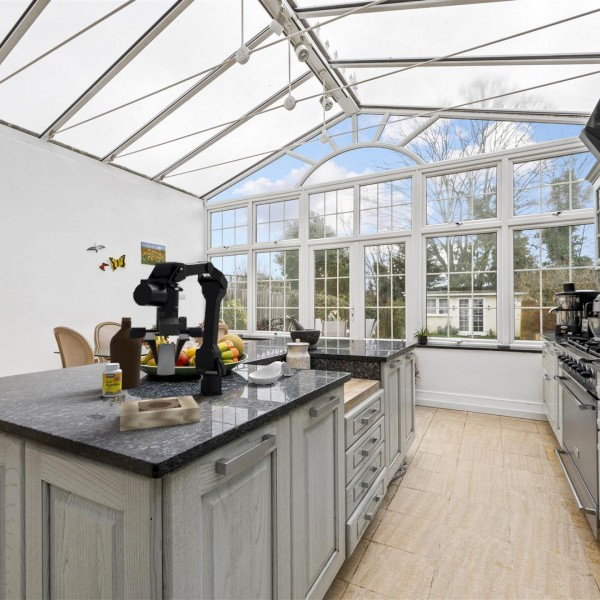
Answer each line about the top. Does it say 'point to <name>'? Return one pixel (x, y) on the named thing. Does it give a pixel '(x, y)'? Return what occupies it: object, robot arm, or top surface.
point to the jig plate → (158, 412)
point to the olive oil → (127, 354)
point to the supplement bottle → (112, 380)
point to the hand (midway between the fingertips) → (166, 364)
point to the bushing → (166, 359)
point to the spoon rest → (269, 373)
